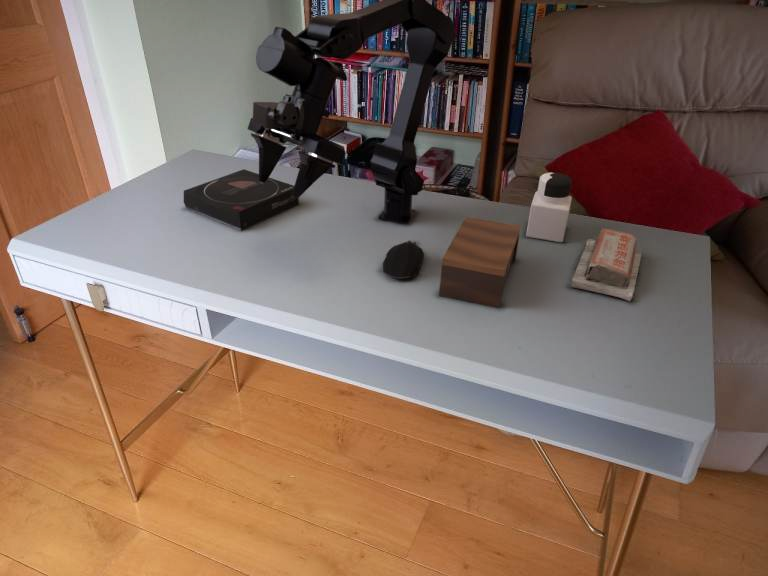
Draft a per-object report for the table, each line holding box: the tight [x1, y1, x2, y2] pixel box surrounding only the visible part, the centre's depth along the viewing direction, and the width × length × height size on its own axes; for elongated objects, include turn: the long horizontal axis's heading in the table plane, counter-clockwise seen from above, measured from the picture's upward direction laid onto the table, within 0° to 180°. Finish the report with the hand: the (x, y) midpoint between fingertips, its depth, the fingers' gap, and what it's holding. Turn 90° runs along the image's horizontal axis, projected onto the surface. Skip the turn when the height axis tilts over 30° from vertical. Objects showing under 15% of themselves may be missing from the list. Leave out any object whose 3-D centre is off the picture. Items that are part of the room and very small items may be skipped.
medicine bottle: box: [525, 171, 573, 243], centre depth 115 cm, size 7×7×12 cm
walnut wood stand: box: [438, 216, 522, 309], centre depth 101 cm, size 17×10×7 cm, turn 161°
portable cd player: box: [183, 168, 300, 231], centre depth 124 cm, size 16×17×4 cm
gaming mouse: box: [382, 240, 425, 280], centre depth 106 cm, size 6×15×4 cm, turn 165°
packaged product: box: [571, 228, 643, 302], centre depth 104 cm, size 18×5×10 cm
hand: (277, 189), depth 97 cm, fingers open, 9 cm apart
